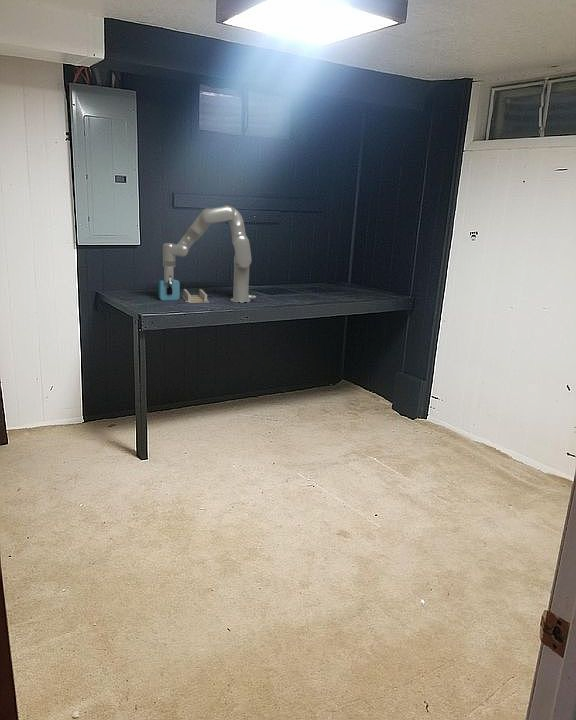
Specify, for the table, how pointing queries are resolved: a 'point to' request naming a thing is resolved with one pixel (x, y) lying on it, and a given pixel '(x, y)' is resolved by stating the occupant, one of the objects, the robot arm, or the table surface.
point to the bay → (195, 297)
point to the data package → (163, 290)
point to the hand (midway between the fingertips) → (169, 293)
